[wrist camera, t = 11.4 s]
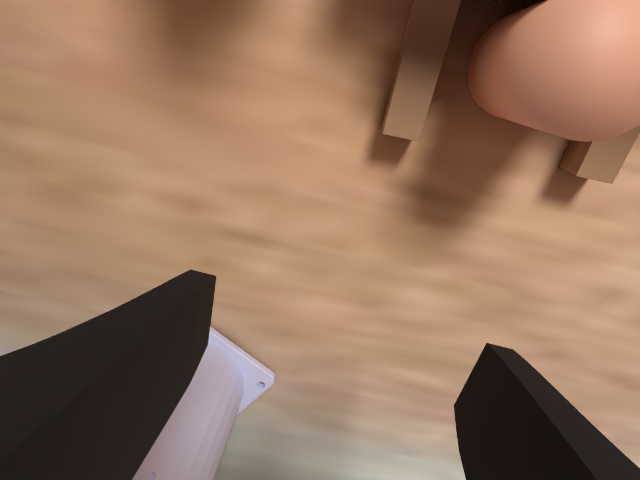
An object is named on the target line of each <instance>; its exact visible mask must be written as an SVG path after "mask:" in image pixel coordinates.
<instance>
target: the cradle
mask: <svg viewBox="0 0 640 480" xmlns="http://www.w3.org/2000/svg"><path fill="white" fill-rule="evenodd" d="M495 1H500V2H505V3H509V4H514V5H518V6H523V7H529V6H532V5H534V4H537V3H540V2H542V1H545V0H495ZM460 3H461V0H414V1H413V5H412V9H411V12H410V16H409V20H408V24H407V28H406V32H405V36H404V40H403V44H402V48H401V52H400V55H399V59H398V63H397V67H396V71H395V75H394V79H393V83H392V87H391V91H390V95H389V98H388V102H387V106H386V110H385V114H384V118H383V122H382V126H381V131H382V133H383V134H386V135H390V136H395V137H399V138H404V139H408V140H413V141H418V142H419V140H420V136H421V133H422V130H423V126H424V123H425V120H426V116H427V113H428V110H429V106H430V103H431V100H432V96H433V93H434V90H435V86H436V83H437V80H438V76H439V73H440V70H441V66H442V63H443V60H444V56H445V53H446V50H447V46H448V43H449V40H450V36H451V33H452V30H453V26H454V23H455V20H456V16H457V13H458V10H459V6H460ZM639 132H640V125H639V126H637V127H635V128H633V129H632V130H630V131H628V132H626V133H623V134H621V135H619V136H616V137H612V138H609V139H605V140H600V141H590V142H584V141H574V140H571V141H570V143H569V145H568V148H567V150H566V152H565V154H564V156H563V158H562V161H561V163H560V165H559V167H558V168H560V169H562V170H564V171H566V172H569V173H571V174H573V175H575V176H578V177H583V178H587V179H592V180H597V181H601V182H606V183H610V184H612V183H613V182H614V180H615V178H616V176H617V174H618V172H619V170H620V168H621V166H622V165H623V163H624V161H625V159H626V157H627V155H628V153H629V151H630V149H631V148H632V146H633V144H634V142H635V140H636V138H637V136H638V134H639Z"/></svg>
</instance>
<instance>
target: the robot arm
mask: <svg viewBox="0 0 640 480" xmlns="http://www.w3.org/2000/svg"><path fill="white" fill-rule="evenodd" d="M215 283H216V276H214V275H210V274H206V273H202V272H198V271H194V270H189V271H187V272H185V273H183V274H181V275H179V276H177V277H175V278H173V279H171V280H169V281H167V282H165V283H164V284H162V285H160V286H158V287H156V288H154V289H152V290H150V291H148V292H146V293H144V294H142V295H140V296H138V297H136V298H134V299H132V300H131V301H129V302H127V303H125V304H123V305H121V306H119V307H117V308H115V309H113V310H110V311H108V312H106V313H104V314H102V315H99V316H97V317H95V318H93V319H90V320H88V321H86V322H84V323H82V324H79V325H77V326H75V327H73V328H71V329H68V330H66V331H64V332H62V333H59V334H57V335H55V336H52V337H50V338H47V339H45V340H42V341H40V342H37V343H35V344H32V345H30V346H27V347H24V348H22V349H19V350H16V351H13V352H11V353H8V354H5V355H3V356H0V480H214V477H215V474H216V471H217V468H218V466H219V463H220V460H221V457H222V454H223V451H224V449H225V446H226V443H227V440H228V437H229V434H230V432H231V429H232V426H233V423H234V420H235V418H236V416H237V415H238V414H240V413H241V412H242V411H243V410H244V409H245V408H247V407H248V406H249V405H250V404H251V403H252V402H253V401H255V400H256V399H257V398H258V397H259V396H260V395H261V394H263V393H264V392H265V391H266V390H267V389H268V388H270V387H271V386H272V385H273V384H274V382H275V374H274V373H273V372H272V371H271V370H269V369H268V368H267V367H265V366H264V365H262V364H261V363H260V362H258V361H257V360H256V359H254V358H253V357H251V356H250V355H249V354H247V353H246V352H245V351H243V350H242V349H240V348H239V347H238V346H236V345H235V344H234V343H232V342H231V341H229V340H228V339H227V338H225V337H224V336H223V335H221V334H220V333H218V332H217V331H216V330H214V329H213V328H212V327H210V324H211V315H212V307H213V299H214V291H215ZM260 382H263V383H264V384H262V383H260ZM454 411H455V421H456V431H457V438H458V446H459V452H460V456H461V461H462V465H463V469H464V473H465V477H466V480H640V468H639V467H638V466H636V465H635V464H634V463H633V462H632V461H631V460H630V459H629V458H628V457H626V456H625V455H624V454H623V453H622V452H621V451H620V450H619V449H618V448H617V447H616V446H615V445H614V444H612V443H611V442H610V441H609V440H608V439H607V438H606V437H605V436H604V435H603V434H602V433H601V432H600V431H599V430H598V429H597V428H595V427H594V426H593V425H592V424H591V423H590V422H589V421H588V420H587V419H586V418H585V417H584V416H583V415H582V414H581V413H580V412H579V411H578V410H577V409H576V408H575V407H574V406H573V405H572V404H571V403H570V402H569V401H568V400H567V399H565V398H564V397H563V396H562V395H561V394H560V393H559V392H558V391H557V390H556V389H555V388H554V387H553V386H552V385H551V384H550V383H549V382H548V381H547V380H546V379H545V378H544V377H543V376H542V375H541V374H540V373H539V372H538V371H537V370H536V369H534V368H533V367H532V366H531V365H530V364H529V363H528V362H527V361H526V360H525V359H524V358H522V357H521V356H520V355H519V354H518V353H516V352H515V351H514V350H513V349H509V348H505V347H501V346H497V345H493V344H489V343H486V345H485V347H484V349H483V351H482V353H481V355H480V357H479V359H478V361H477V363H476V364H475V366H474V368H473V370H472V372H471V374H470V376H469V378H468V380H467V382H466V384H465V385H464V387H463V389H462V391H461V393H460V395H459V397H458V399H457V401H456V403H455V405H454Z"/></svg>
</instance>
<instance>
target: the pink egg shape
mask: <svg viewBox="0 0 640 480" xmlns="http://www.w3.org/2000/svg"><path fill="white" fill-rule="evenodd" d="M467 78H468V85H469V89H470V92H471V95H472V97H473V99H474V100H475V102H476V103H477V104H478V105H479V106H480V107H481V108H482V109H483V110H484V111H486V112H487V113H489V114H491V115H493V116H496V117H499V118H502V119H505V120H509V121H512V122H515V123H518V124H521V125H524V126H528V127H531V128H534V129H537V130H540V131H543V132H547V133H550V134H553V135H556V136H559V137H562V138H566V139H569V140H574V141H584V142H590V141H600V140H605V139H609V138H612V137H616V136H619V135H621V134H623V133H626V132H628V131H630V130H632V129H633V128H635V127H637V126H639V125H640V0H545V1H542V2H540V3H537V4H534V5H532V6H529V7H527V8H524V9H521V10H519V11H516V12H514V13H511V14H509V15H506V16H504V17H502V18H501V19H499V20H498V21H496V22H495V23H493V24H492V25H491V26H490V27H489V28H488V29H487V30H486V31H485V32H484V33H483V34H482V36H481V37H480V38H479V40H478V41H477V43H476V45H475V47H474V49H473V51H472V53H471V56H470V60H469V64H468V72H467Z"/></svg>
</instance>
